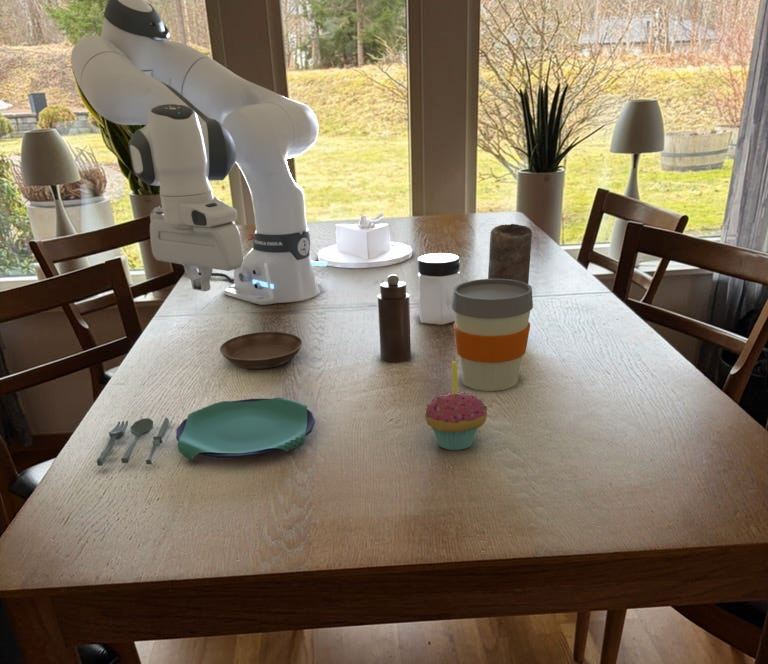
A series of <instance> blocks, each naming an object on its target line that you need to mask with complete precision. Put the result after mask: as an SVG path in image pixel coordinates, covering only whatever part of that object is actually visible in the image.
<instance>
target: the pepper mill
mask: <svg viewBox="0 0 768 664" xmlns="http://www.w3.org/2000/svg"><path fill="white" fill-rule="evenodd" d="M399 278H400V277H399V276H398V275H396V274H394V273H393V274H390V275H388V277H387V278H386V281H383V282H382V283H380V284H379V287H380V288H379V289H380V294H378V295H377V307H378V327H379V328H378V329H379V330H378V331H379V348H380V349H379V350H380V351H379V353H380V359H381V360H382V361H383V362H386V363H391V364H392V363H403V362H406V361H409V360H411V358H412V348H411V347H412V343H411V342H412V340H411V310H410V309H411V308H410V305H411V304H410V294H409V293H407V283H406V282H405V281H401V280H400V279H399Z"/></svg>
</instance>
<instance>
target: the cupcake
mask: <svg viewBox="0 0 768 664" xmlns="http://www.w3.org/2000/svg"><path fill="white" fill-rule="evenodd" d="M451 374H452V375H451V376H452V391H451V392H445V393H443V394H441V395H440V394H439V395H437V396H435V398H433V399H432V400H431V401H429V403H427V404H426V408H425V413H424V419H425V422H426V424H427V426H429V427H430V428H431V429H432V430H433V433H434V435H435V438H436V442H437V444H438V446H439V447H441V448H442V449H445V450H448V451H461V450H465V449H468V448H470V447H471V446H472V445H473V442H474V440H475V437H476V434H477V431H478V429H479V428H481V427H482V426H483V425H484V424H485V423H486V421H487V418H488V406H487V405H485V403H484V402H483V401H482V399H481V398H478V397H477V395H473V394H469V393H468V392H460V391H459V390H458V361H456V355H453V360H452V362H451Z"/></svg>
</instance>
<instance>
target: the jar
mask: <svg viewBox="0 0 768 664" xmlns="http://www.w3.org/2000/svg"><path fill="white" fill-rule="evenodd" d="M460 266H461V261H460V256H458V255H456V254H453V253H446V252H445V253H444V252H443V253H442V252H438V253H427V254H424V255H421V256H419V257H418V258H417V302H418V303H417V306H418V310H417V311H418V318H419V321H420V323H421V324H427V325H429V324H430V325H437V326H438V325H439V326H443V325H444V326H445V325H447V324H451V323H455V314H454V311H453V309H452V301H453V291H454V288H455V286H457V285H459V284H461V273H460Z"/></svg>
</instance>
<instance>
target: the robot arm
mask: <svg viewBox="0 0 768 664" xmlns="http://www.w3.org/2000/svg"><path fill="white" fill-rule="evenodd" d="M103 16H104V20H103V22H102V23H103V24H102V27H101V32H100V36H98V35H86V36H84V37H81V39H79V40H78V41H77V42H76V43H75V44H74V46H73V48H72V51H71V54H70V65H71V68H72V72H73V74H74V78H75V80H76V82H77V84H78V87H79V88H80V91H81V93H82V94H83V95H84V97H85V98H86V100H87V102H88V103H89V105H90V106H91V107H92V108H93V110H94V111H95V112H96V113H97V114H98V115H100V116H101V117H102V118H104V119H105V120H107V121H109V122H111V123H113V124H117V125H122V126H123V125H124V126H143V127H142V128H139V129H136V130H135V132H133V134H132V136H131V137H130V139H129V141H128V144H127V147H128V153H129V159H130V164H131V168H132V172H133V174H134V175H135V176H136V177H137V178H138V179H139V180H141V182H143V183H145V184H146V185H148V186H154V187H155V186H156V187H159V197H160V203H161V207H160V206H156V207H154V208H153V209H152V210H151V212H150V214H149V218H150V223H149V237H150V238H149V239H150V247H151V253H152V256H153V257H154V259H155V261H158V262H164V263H171V264H175V265H174V269H178V268H179V267H181V268H182V269H183V270H184V272H185V273H186V275H187V277H188V278H189V280H190V282H191V288H192V289H193V290H194V291H200V292H208V291H210V290H211V283H210V281H211V277H223V278H225V279H227V280H228V281H230V282H231V283H233V284H232V285H230V286H228V287H227V288H226V289H224V294H225V295H226V296H229V297H232V298H236V299H239V300H242V301H245V302H248V303H252V304H257V305H260V306H266V305H267V306H268V305H272V304H284V303H285V304H286V303H295V302H301V301H305V300H310V299H313V298H315V297H317V296H318V295H319V294H320V293H321V290H320V288H319V285H318V282H317V278H316V274H315V271H314V266H316V267H327V266H328V265H327V263H326V262H319V260H318V261H316V260H312V256H311V233H310V229H309V227H308V225H307V214H306V204H305V203H306V201H305V193H304V190H303V188H302V187H301V186H300V185H299V184H298V183H296V182H295V180H294V178H293V176H292V173H291V172H290V168H289V165H288V161H287V160H288V159H292V158H297V157H299V156H301V155H302V154H304V153H305V152H307V151H309V150H310V149H311V148H312V147H314V145H315V144H316V143H317V140H318V136H319V123H318V118H317V115H316V114H315V112H314V111H313V109H312V108H311V107H309V106H308V105H307V104H305V103H303V102H299V101H297V100H293V99H290V98H288V97H285V96H284V95H281V94H278V93H276V92H275V91H272V90H270V89H268V88H266V87H265V86H264V87H263V86H261V85H258V84H256V83H255V82H251V81H249V80H246V79H245V78H243V77H241V76H239V75H238V74H236V73H234V72H233V71H232V70H230V69H228V68H227V67H225V66H224V65H223V64H220V63H219V62H218V61H216V60H215V59H213V58H212V57H210V56H209V55H208V54H206V53H203V52H202V51H200V50H198V49H196V48H194V47H192V46H190V45H187V44H186V43H182V42H179V41H175V40H168V38H170V30H169V28H168V27H167V26H166V25H165V24H164V22H163V20H162V17H161V16H160V14H159V13H158V10H156V8H154V6H153V5H152V4H150V3H149V2H147V1H146V0H108V1H107V3H106V6H105V9H104V13H103ZM235 164H236V165H237V167H238V168H239V169H240V171H241V173H242V175H243V177H244V179H245V181H246V184H247V186H248V189H249V190H248V191H249V192H250V197H251V202H252V208H253V216H254V222H255V232H253V233H250V234H248V235H247V237H249V238H248V239H247V241H251V240H252V245H251V249H250V250H249V251H248V252H247V254H245V256H244V252H243V244H242V238H241V234H240V233H241V232H240V230H239V227H238V225H236V223H234V222H236V221H237V219H238V213H237V210H236V208H235V207H233V206H231V205H229V204H227V203H225V202H224V201H222V200H220V199H219V198H217V197H216V196H214V195H213V188H212V186H211V185H212V184H211V183H210V182H216V181H219V182H220V181H224V180H225V179H226V178H227V177H228V175H229V174H230V172H231V171H232V169H233V167H234V166H235ZM213 270H218V271H225V272H230V271H233V278H232V277H230V276H229V275H227V274H226V273H222V272H213Z"/></svg>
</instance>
